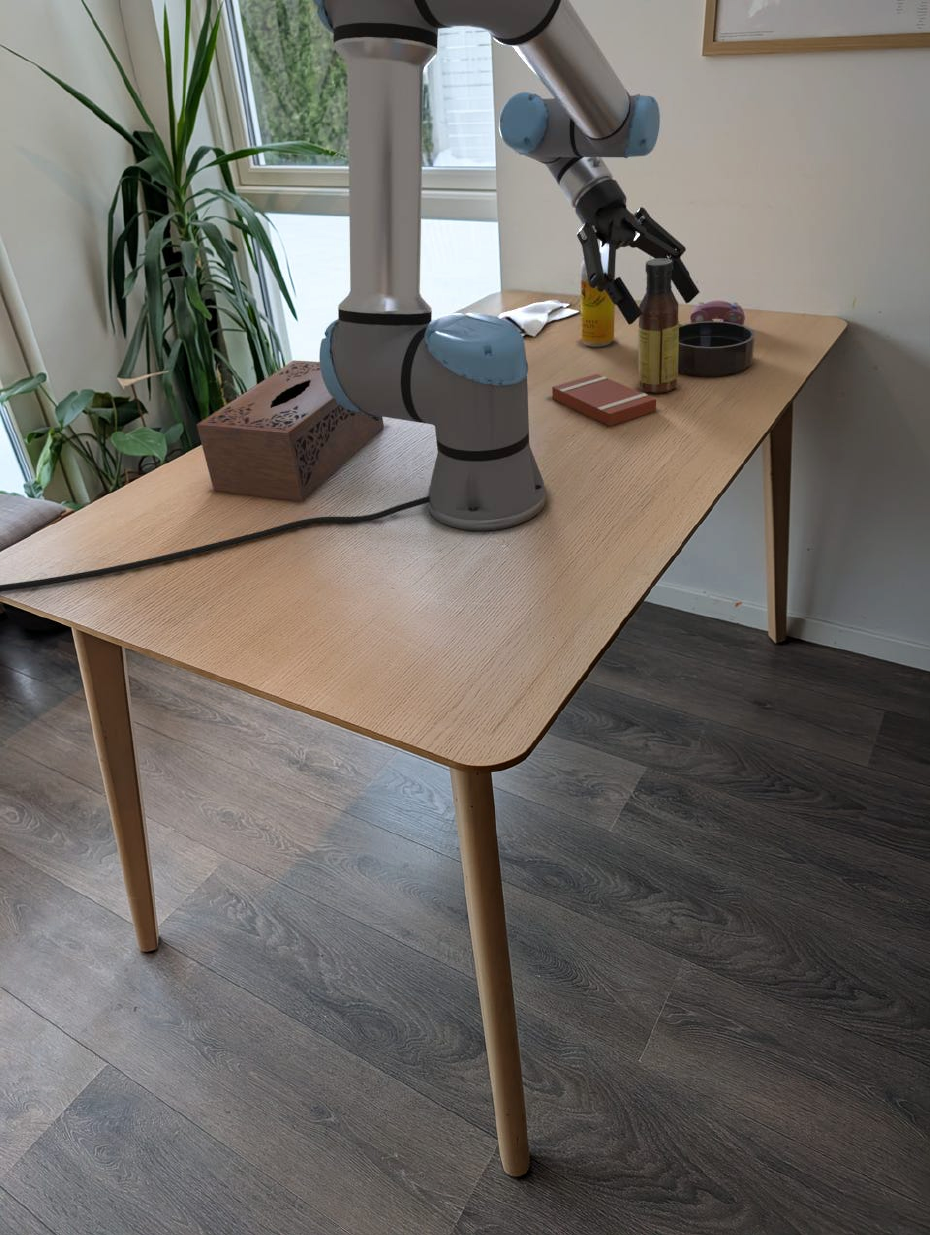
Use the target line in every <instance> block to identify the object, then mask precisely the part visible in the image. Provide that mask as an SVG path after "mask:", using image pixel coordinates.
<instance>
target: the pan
mask: <svg viewBox="0 0 930 1235" xmlns="http://www.w3.org/2000/svg"><path fill="white" fill-rule="evenodd" d="M755 341H756V333H755V331H754V330H753V329H752V328H750V327H749V326H746V325H744V324H743V325H740V324H736V323H730V322H720V320H719V321H717V320H713V321H705V322H695V323H690V322H688V323H684V324H681V326H679V345H678V373H682V374H685V375H688V376H694V377H695V376H696V377H721V376H728V375H729V376H730V375H734V374H736V373H739V372H741V371H743V370H745V369H747V368H748V367H750V366H751V364H752V362H753V361H754V352H755V351H754V350H755V343H756V342H755Z"/></svg>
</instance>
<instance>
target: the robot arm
mask: <svg viewBox="0 0 930 1235" xmlns="http://www.w3.org/2000/svg"><path fill="white" fill-rule="evenodd" d="M312 2H313V4H314V5H315V6H317V9H316V14H317V17H318V19H319V20H320V21H321V24H323V26H324V27H325V28H326V29H327V31H328V32H330V33H332V34H333V49H334V50H335V52H336V53H337V54H338V55H339V57H340V58H341V59H342V60H343V62H344V63H345V65H346V67H347V124H348V125H347V126H348V127H347V128H348V129H347V130H348V134H347V135H348V136H347V138H348V140H347V141H348V191H349V192H348V196H349V197H348V202H349V203H348V204H349V207H348V208H349V210H348V211H349V214H348V215H349V288H350V289H349V290H350V291H349V292H348V294H347V296H346V297H345V298H344V299H343V300H342V301H341V302H340V303H339V304H338V308H337V309H338V310H337V312H338V313H337V314H338V317H337V319H335V320H333V321H332V322H330V324H329V325H328V327H326V329H325V331H324V336H325V337H324V338H322V339H321V341H320V344H319V345H320V346H319V355H318V356H319V359H318V360H319V362H320V369H321V374H322V378H323V381H324V383H325V386H326V388H327V390H328V392H329V393H330V395H331V396H332V397H333V398H334V399H335V400H336V402H337V403H338V404H339V405H341V406H342V407H344V408H346V409H348V410H351V411H355V412H360V413H362V414H365V415H368V416H371V417H375V416H381V417H383V418H389V419H394V420H402V421H407V422H414V423H421V424H427V425H432V426H434V430H435V438H436V448H437V453H436V458H435V461H434V467H433V469H432V470H433V471H432V475H431V479H430V484H429V487H428V494H427V495H426V496H424V497H420V498H416V499H414V500H411V501H407V502H404V503H401V504H398V505H395V506H392V507H389V508H386V509H384V510H381V511H378V512H375V513H370V514H363V515H355V516H318V517H312V518H305V519H301V520H296V521H292V522H288V523H284V524H282V525H278V526H274V527H271V528H267V529H263V530H259V531H256V532H252V533H248V534H244V535H241V536H237V537H233V538H229V539H224V540H221V541H217V542H213V543H209V544H204V545H201V546H197V547H193V548H188V549H185V550H180V551H176V552H171V553H166V554H164V555H159V556H155V557H151V558H146V559H142V560H136V561H132V562H127V563H122V564H119V565H113V566H109V567H103V568H99V569H94V570H88V571H83V572H77V573H70V574H66V575H60V576H53V577H47V578H40V579H34V580H28V581H19V582H13V583H5V584H0V593H3V592H10V591H16V590H25V589H32V588H38V587H45V586H51V585H57V584H63V583H68V582H69V583H70V582H74V581H75V582H76V581H81V580H85V579H91V578H97V577H101V576H107V575H111V574H117V573H120V572H121V573H122V572H125V571H131V570H134V569H139V568H144V567H149V566H153V565H157V564H162V563H166V562H170V561H173V560H174V561H175V560H178V559H183V558H186V557H190V556H195V555H199V554H202V553H206V552H211V551H214V550H219V549H222V548H223V549H224V548H227V547H231V546H234V545H238V544H242V543H247V542H250V541H254V540H257V539H261V538H266V537H269V536H272V535H276V534H279V533H283V532H286V531H289V530H293V529H298V528H302V527H306V526H307V527H308V526H313V525H318V524H319V525H320V524H321V525H322V524H357V523H366V522H371V521H372V522H373V521H376V520H379V519H382V518H385V517H388V516H391V515H393V514H396V513H399V512H402V511H405V510H408V509H412V508H415V507H419V506H421V505H425V504H428V507H429V512H430V513H431V516H433V518H434V519H436V520H437V521H438V522H440V523H442V524H444V525H446V526H448V527H452V528H456V529H459V530H467V531H494V530H501V529H506V528H510V527H515V526H518V525H520V524H523V523H525V522H527V521H529V520H531V519H532V518H534V517H536V516H537V515H538V514H539V513H541V511H542V510H543V508H544V507H545V505H546V487H545V482H544V479H543V476H542V474H541V471H540V469H539V465H538V464H537V461H536V459H535V455H534V454H533V450H532V448H531V445H530V422H529V421H530V420H529V394H528V393H529V392H528V372H529V364H528V360H527V353H526V345H525V340H524V336H522V334H521V333H520V332H519V330H518V329H517V328H516V327H515V326H514V325H513V324H511V323H509V322H508V321H506V320H503V319H501V318H499V317H498V316H494V315H490V314H486V313H477V312H467V313H460V312H455V313H448V314H443V315H441V316H438V317H435V318H434V319H432V316H433V315H432V314H433V313H432V312H433V310H432V307H431V306H430V304H428V303H427V301H426V300H425V299H424V298H423V297H422V295H421V255H422V254H421V252H422V251H421V250H422V248H421V247H422V195H423V194H422V191H423V188H422V187H423V137H424V136H423V134H424V132H423V130H424V127H423V126H424V78H425V77H424V75H425V74H424V73H425V69H426V68H427V66H429V64H430V63H431V62H432V61H433V60H434V59H435V57H437V55H438V43H439V42H438V38H439V37H438V36H439V30H440V29H451V28H454V27H455V28H459V27H471V28H476V29H480V30H484V31H486V32H487V33H488V34H489V35H490V36H491V38H493V39H494V41H496V42H497V43H499V44H501V45H503V46H506V47H513V48H514V50H515V51H516V52H517V53H518V55H519V56H520V57H521V58H522V60H523V61H524V62H525V64H527V66H528V67H529V68H530V70H531V71H532V72H533V73H534V74H535V76H536V77H537V78H538V79H539V81H540V82H541V83H542V85H544V87H545V88H546V89H547V90H548V92H549V93H550V94H551V95H552V97H553V98H552V97H551V98H542V97H541V96H540V95H538V94H536V93H531V92H528V91H527V92H526V91H523V92H518V93H515V94H514V95H512V96H511V97H510V98H508V100H507V101H506V102H505V104H504V105H503V107H502V109H501V111H500V114H499V119H498V130H499V134H500V137H501V139H502V141H503V142H504V144H505V145H506V146H507V147H509V149H510V148H511V149H512V150H513V151H514V152H515V153H517V154H518V155H521V156H522V155H523V156H525V157H527V158H530V159H533V160H534V161H536V162H539V163H541V164H543V165H545V166H546V167H547V169H548V171H549V173H551V175H552V176H553V178H554V180H555V181H556V183H557V185H558V186H559V188H560V190H561V192H562V193H563V196H564V197H565V198H566V200H567V202H568V203H569V205H570V207H571V208H572V209H574V212H575V214H576V216H577V218H578V219H579V221H580V222H581V224H582V227H581V228H580V229H579V230H578V232H577V233H576V237H577V239H578V241H579V243H580V245H581V248H582V253H583V258H584V260H585V265H586V271H587V276H588V282H589V285H590V287H592V288H595V287H596V286H597V290H598V291H599V292H603V291H604V289H605V291H606V292H607V294H608V295H609V297H610V299H611V300H612V302H613V303H614V304H615V306H617V308H618V310H619V312H620V313H621V314H622V316H623V318H624V319H625V321H626V323H627V324H628V326H629V325H633V324H634V322H636V321H637V320H638V319H639V316H640V315H641V314H642V312H641V310H640V308H639V305H638V303H637V302H636V300H635V298H634V297H633V295H632V294H631V292H630V290H629V289H628V287H627V286H626V284H625V282H624V281H623V279H622V278H621V276H618V277H616V261H617V260H616V258H617V250H619V249H620V248H626V247H630V248H631V249H635V248H636V249H638V250H640V251H642V252H643V253H645V254H647V255H648V256H650V257H652V259H657V258H666V259H671V260H672V261H673V270H672V272H671V283H673V285H674V286H675V288H676V289H677V291H678V293H679V295H680V296H681V298H682V299H683V301H684V302H685V304H686V305H687V304H689V303H691V302H692V301H693V300H694V299H695V297H697V296H698V295H699V294H700V293H701V291H700V290H699V288H698V287H697V285H696V283H695V282H694V280H693V279H692V277H691V275H690V272H689V270H688V269H687V266H686V264H684V262H683V261H682V258H681V257H682V256H683V255H684V253H685V252H686V251H687V248H686V247H685V246H684V245H683V243H681V242H680V241H679V240H678V239H677V238H675V237H674V236H673V235H672V234H671V233H670V232H668V230H666V229H665V228H664V227H663V226H661V225H660V224H659V223H658V222H657V221H656V220H655V219H653V218H652V216H651V215H650V213H649V212H648V211H647V209H646V208H644V207H642V206H641V207H639V208H638V210H637V211H636V212H634V213H632V212H631V211H629V209H628V208H627V196H626V194H625V192H624V191H623V189H622V188H621V186H620V184H619V183H618V181H617V179H613V178H614V176H613V174H612V172H611V170H610V169H609V168H608V166H607V165H606V163H605V161H604V159H603V158H624V159H628V158H634V157H635V158H636V157H645V156H648V155H649V154H650V153H651V152H652V151H654V149H655V147H656V144H657V142H658V138H659V137H658V136H659V133H660V126H661V125H660V124H661V114H660V108H659V107H660V106H659V104H658V101H657V100H656V98H655V97H654V96H651V95H642V94H640V93H637V94H635V95H630V93H629V92H628V91H627V89H626V88H625V85H623V83H622V81H621V80H620V78H619V77H618V75H617V73H616V71H615V70H614V69H613V67H612V65H611V63H609V61H608V59H607V57H606V56H605V55H604V53H603V51H602V50H601V48H600V47H599V45H598V44H597V42H596V41H595V39H594V38H593V36H592V34H591V32H590V31H589V29H588V28H587V26H586V25H585V23H584V21H583V20H582V19H581V17H580V15H579V14H578V13H577V11H576V9H575V8H574V6H573V4H572V3H571V1H570V0H312ZM600 255H601V256H600ZM614 277H615V280H614Z"/></svg>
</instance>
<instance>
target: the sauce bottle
mask: <svg viewBox="0 0 930 1235" xmlns="http://www.w3.org/2000/svg"><path fill="white" fill-rule="evenodd" d="M672 270H673V261H672V260H671V259H666V258H657V259H655V258H651V259H649V260H647V261H646V262H645V273H646V286H645V294H644V296H643V298H642V300H641V302H640V304H639V305H638V307H639V308H640V310H641V312H642V314H641V315H640V316H639V317H638V335H637V336H638V381H639V384H638V386H639V388H640V389H641V390H643V391H644V392H645V393H646V392H647V393H656V394H662V393H668V392H671V391H672V390H675V389H676V388H677V385H678V384H677V383H678V376H679V371H678V345H679V324H680V321H679V301H678V300H677V298H676V296H675V294H674V292H673V289H672V288H673V287H672V280H671V272H672Z"/></svg>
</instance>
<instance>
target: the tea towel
mask: <svg viewBox="0 0 930 1235" xmlns="http://www.w3.org/2000/svg"><path fill="white" fill-rule="evenodd" d="M551 390H552V400H555V401H556V402H559V403H561V404H563V405H565V406H566V407H569V408H571V409H572V410H574V411H577V412H579V413H581V414H583V415H585V416H587V417H589V418H591V419H593V420H595V421H598V422H600V423H602V424H604V425H606V426H608V427H612V426H615V425H618V424H622V423H624V422H627V421H630V420H633V419H637V418H639V417H642V416H645V415H648V414H652V413H654V412H657V398H655V397H652V396H650V395H649V394H647V393H646V392H641V391H639V390H636V389H633V388H631V387H629V386H627V385H624V384H622V383H620V382H617V381H615V380H612V379H610V378H609V377H606V376H603V375H600V374H598V373H595V374H591V375H587V376H585V377H581V378H577V379H575V380H571V381H567V382H564V383H561V384H557V385H554V386H552V387H551Z"/></svg>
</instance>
